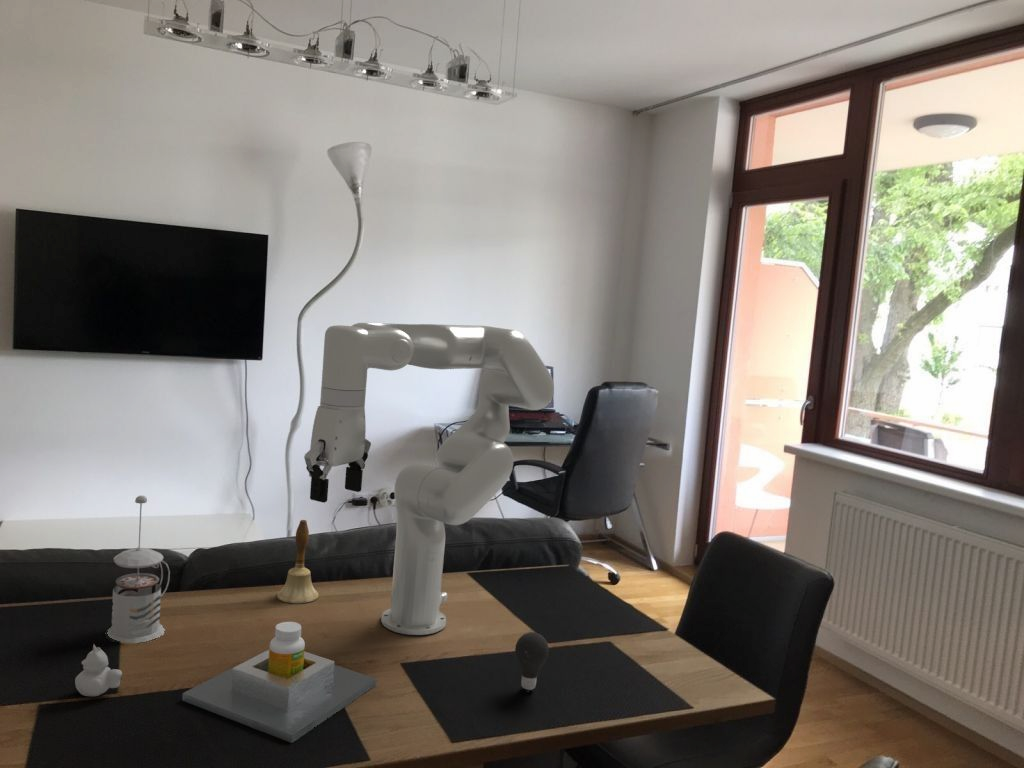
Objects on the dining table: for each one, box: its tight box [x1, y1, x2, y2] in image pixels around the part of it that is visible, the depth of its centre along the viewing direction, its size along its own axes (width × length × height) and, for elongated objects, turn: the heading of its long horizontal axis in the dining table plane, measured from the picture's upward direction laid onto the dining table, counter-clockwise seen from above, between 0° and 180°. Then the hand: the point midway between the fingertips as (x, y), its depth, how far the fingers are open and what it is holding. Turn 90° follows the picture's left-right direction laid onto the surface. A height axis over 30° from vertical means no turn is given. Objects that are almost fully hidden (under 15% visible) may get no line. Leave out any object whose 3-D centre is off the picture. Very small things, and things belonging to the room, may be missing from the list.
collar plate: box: [182, 648, 377, 744], centre depth 134 cm, size 21×21×5 cm
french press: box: [106, 495, 171, 643], centre depth 150 cm, size 10×12×25 cm
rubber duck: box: [74, 644, 123, 697], centre depth 128 cm, size 5×7×8 cm
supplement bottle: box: [268, 621, 306, 679], centre depth 133 cm, size 5×5×10 cm
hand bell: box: [276, 519, 319, 604], centre depth 173 cm, size 8×8×16 cm
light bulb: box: [514, 631, 550, 691], centre depth 142 cm, size 6×6×10 cm
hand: (336, 495), depth 147 cm, fingers open, 9 cm apart
